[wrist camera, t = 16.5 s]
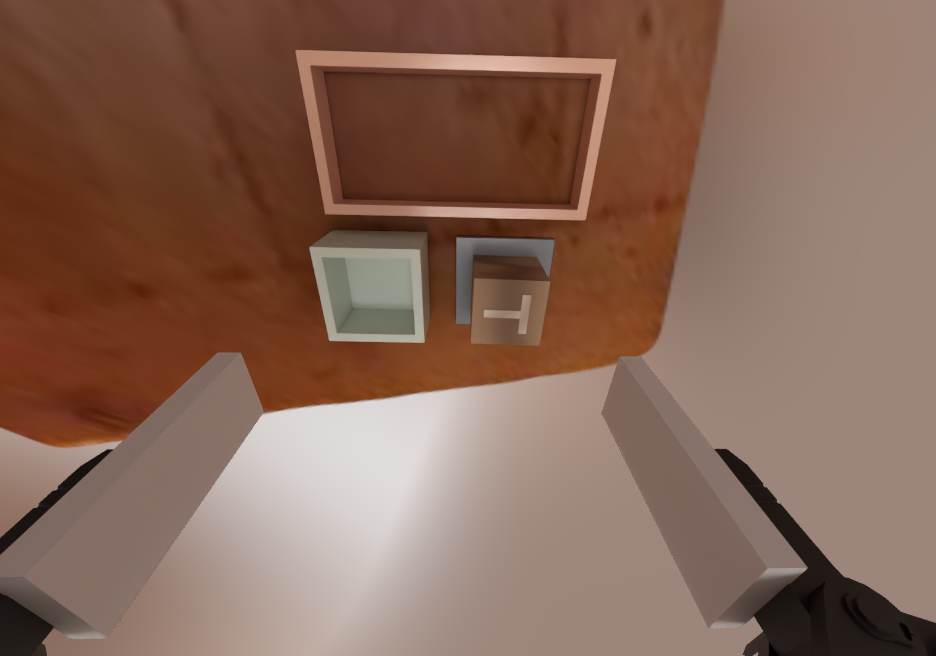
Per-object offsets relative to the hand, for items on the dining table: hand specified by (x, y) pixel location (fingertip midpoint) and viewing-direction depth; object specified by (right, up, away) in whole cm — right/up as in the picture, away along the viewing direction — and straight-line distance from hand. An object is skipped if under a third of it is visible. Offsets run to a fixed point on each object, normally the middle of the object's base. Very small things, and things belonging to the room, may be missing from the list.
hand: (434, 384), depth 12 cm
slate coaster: (+5, +7, +21) cm, 23 cm away
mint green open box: (-7, +7, +21) cm, 23 cm away
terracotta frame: (0, +17, +15) cm, 23 cm away
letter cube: (+5, +6, +21) cm, 22 cm away
